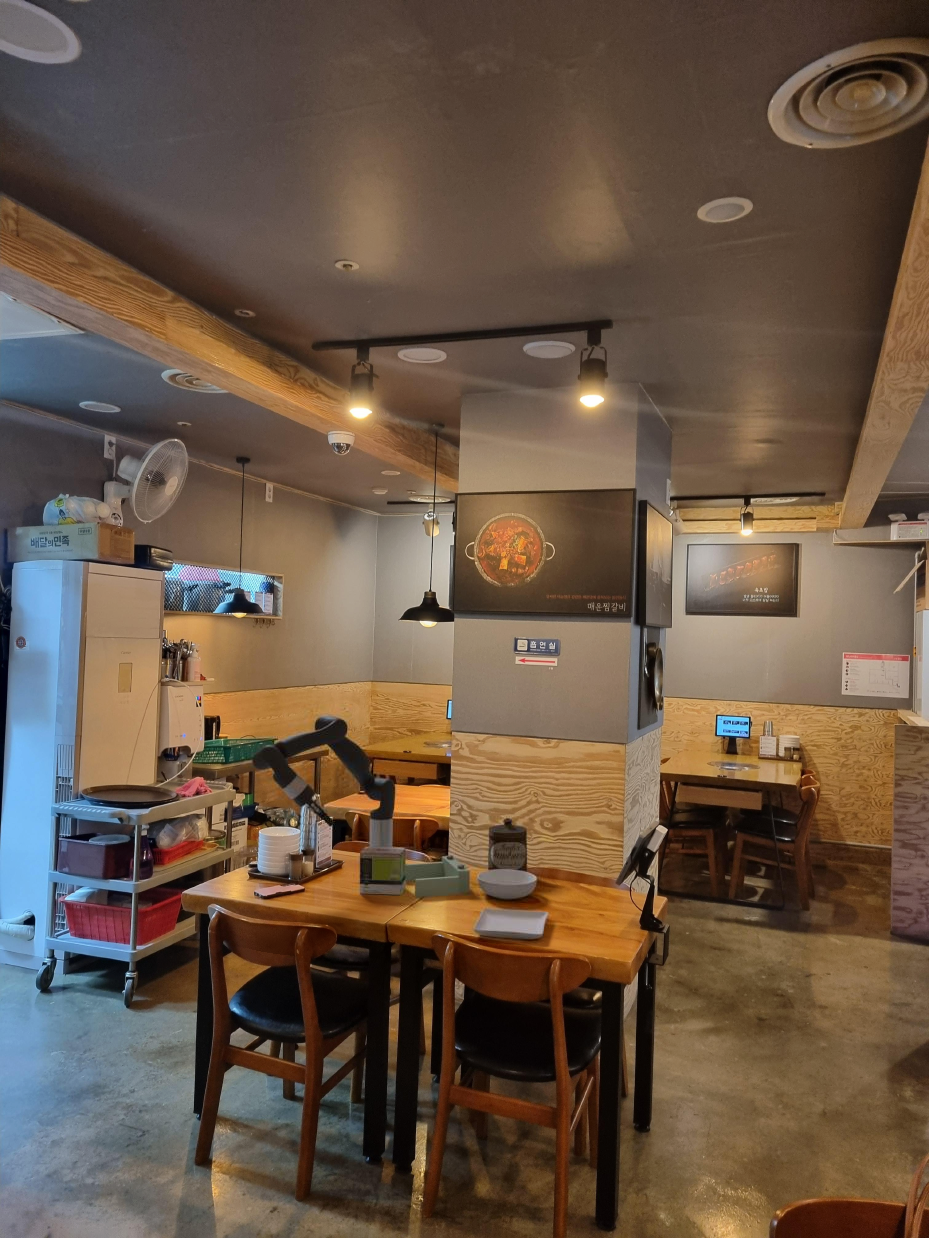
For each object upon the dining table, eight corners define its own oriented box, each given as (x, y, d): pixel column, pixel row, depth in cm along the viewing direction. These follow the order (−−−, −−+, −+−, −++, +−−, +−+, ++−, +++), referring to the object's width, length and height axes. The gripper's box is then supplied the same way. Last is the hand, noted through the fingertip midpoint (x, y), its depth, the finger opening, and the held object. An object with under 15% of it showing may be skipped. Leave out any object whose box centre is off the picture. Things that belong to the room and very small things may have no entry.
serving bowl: (533, 906, 286) (533, 886, 287) (472, 902, 290) (472, 882, 291) (540, 889, 307) (540, 870, 307) (483, 885, 311) (483, 866, 311)
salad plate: (472, 939, 254) (472, 928, 254) (483, 917, 275) (483, 906, 275) (542, 945, 251) (542, 933, 251) (548, 922, 271) (548, 911, 272)
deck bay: (401, 880, 316) (401, 856, 316) (451, 877, 322) (452, 853, 322) (415, 897, 295) (416, 871, 295) (469, 893, 301) (469, 867, 301)
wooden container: (490, 881, 316) (491, 822, 317) (486, 871, 331) (486, 814, 332) (529, 881, 317) (530, 822, 318) (523, 870, 332) (524, 814, 333)
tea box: (405, 887, 307) (406, 846, 307) (400, 895, 297) (401, 853, 297) (364, 886, 308) (365, 845, 309) (358, 894, 298) (359, 851, 299)
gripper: (308, 785, 293) (343, 820, 296) (304, 780, 306) (337, 813, 309) (292, 801, 291) (327, 836, 294) (288, 795, 304) (322, 828, 307)
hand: (332, 824), depth 301 cm, fingers closed
